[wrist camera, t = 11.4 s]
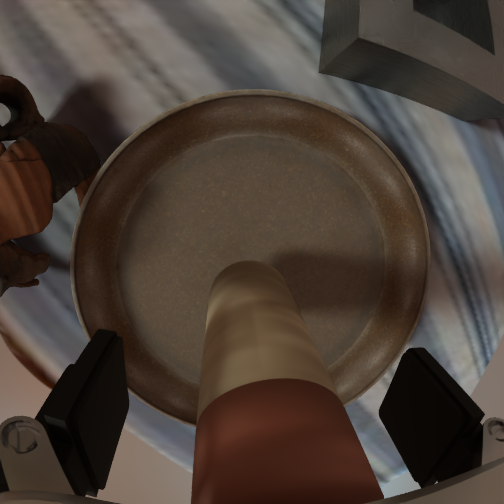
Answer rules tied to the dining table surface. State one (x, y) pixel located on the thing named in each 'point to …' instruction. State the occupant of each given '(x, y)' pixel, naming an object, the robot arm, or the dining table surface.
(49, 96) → the dining table surface
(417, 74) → the block
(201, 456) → the beech pin
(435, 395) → the robot arm
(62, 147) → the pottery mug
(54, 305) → the dining table surface
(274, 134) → the plant saucer
